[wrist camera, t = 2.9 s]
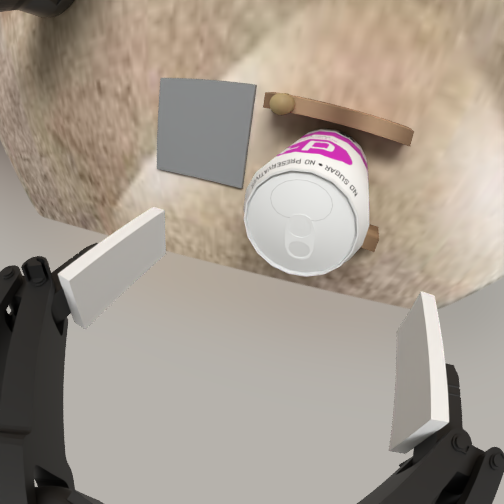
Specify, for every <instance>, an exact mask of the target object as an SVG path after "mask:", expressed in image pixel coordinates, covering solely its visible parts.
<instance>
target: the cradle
mask: <svg viewBox="0 0 504 504" xmlns="http://www.w3.org/2000/svg"><path fill="white" fill-rule="evenodd" d="M263 107H264V108H270V109H271V110H272V111H273V112H274V113H275V114H278V115H285V114H288V113H295V114H300V115H304V116H309V117H313V118H317V119H321V120H325V121H329V122H333V123H337V124H341V125H345V126H348V127H352V128H355V129H359V130H362V131H365V132H369V133H372V134H375V135H378V136H381V137H384V138H387V139H390V140H393V141H396V142H399V143H402V144H405V145H407V146H410V144H411V141H412V137H413V133H414V131H413V130H412V129H410V128H409V127H406V126H403V125H400V124H398V123H395V122H392V121H389V120H386V119H383V118H379V117H376V116H373V115H370V114H366V113H363V112H360V111H356V110H352V109H349V108H345V107H341V106H337V105H333V104H329V103H325V102H321V101H316V100H312V99H307V98H302V97H298V96H292V95H289V94H286V93H276V92H265V98H264V105H263ZM378 241H379V233H378V227H376V226H373V225H370V224H369V228H368V231H367V234H366V236H365V239H364V242H363V245H362V246H361V247H360V248H364V249H367V250H370V251H373V252H374V251H375V248H376V246H377V243H378Z"/></svg>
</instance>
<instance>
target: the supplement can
mask: <svg viewBox="0 0 504 504" xmlns="http://www.w3.org/2000/svg"><path fill="white" fill-rule="evenodd" d="M244 214H245V215H244V223H245V227H246V231H247V236H248V238H249V240H250V242H251V243H252V245H253V247H254V248H255V250H256V252H257V253H258V254H259V255H260V256H261V257H262V258H264V259H265V260H266V261H267V262H268V263H269V264H270V265H271V266H274V267H276V268H278V269H280V270H282V271H284V272H286V273H288V274H294V275H300V276H305V277H307V276H315V275H322V274H326V273H328V272H330V271H332V270H334V269H336V268H338V267H340V266H341V265H342V264H343V263H344V262H346V261H348V260H349V259H350V258H351V257H352V256H353V255H354V254H355V253H356V252H357V251H358V249H359V248H360V247H361V246H362V245H363V242H364V239H365V236H366V234H367V231H368V228H369V183H368V166H367V158H366V156H365V154H364V152H363V150H362V148H361V146H360V145H359V144H358V143H357V142H356V141H355V140H354V139H353V138H352V137H351V136H350V135H348V134H345V133H343V132H341V131H339V130H337V129H326V128H321V129H318V130H314V131H311V132H308V133H307V134H305V135H304V136H303V137H301V138H300V139H299V140H297V141H296V142H295V143H293V144H292V145H291V146H289V147H288V148H287V149H285V150H284V151H283V152H281V153H280V154H279V155H277V156H276V157H275V158H273V159H272V160H271V161H269V162H268V163H267V164H266V165H264V166H263V167H262V168H261V169H259V170H258V171H257V172H256V173H255V175H254V177H253V178H252V180H251V182H250V184H249V185H248V187H247V189H246V194H245V202H244Z"/></svg>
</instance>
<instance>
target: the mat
mask: <svg viewBox="0 0 504 504" xmlns="http://www.w3.org/2000/svg"><path fill="white" fill-rule="evenodd" d="M256 86H257V85H253V84H245V83H237V82H227V81H216V80H203V79H184V78H161V81H160V95H159V111H158V134H157V169H161V170H165V171H170V172H174V173H179V174H183V175H188V176H192V177H197V178H201V179H205V180H209V181H213V182H218V183H222V184H226V185H230V186H234V187H238V188H243V182H244V174H245V166H246V159H247V151H248V144H249V136H250V129H251V122H252V114H253V107H254V100H255V93H256Z"/></svg>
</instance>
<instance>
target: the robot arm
mask: <svg viewBox="0 0 504 504" xmlns="http://www.w3.org/2000/svg"><path fill="white" fill-rule="evenodd" d="M73 1H74V0H0V12H3V11H11V10H20V11H23V12H26V13H30V14H33V15H36V16H39V17H54V16H57V15H59V14H61V13H62V12H63V11H65V10H66V9H67V8H68V7H69V6H70V5H71V3H72V2H73ZM165 254H166V245H165V210H163V209H159V208H156V207H152V208H150V209H149V210H147V211H146V212H144V213H143V214H141V215H140V216H138V217H136V218H135V219H133V220H132V221H130V222H129V223H127V224H126V225H124V226H123V227H122V228H120V229H119V230H117V231H116V232H114V233H113V234H111V235H110V236H108V237H107V238H106V239H104V240H103V241H101V242H100V243H99V244H98V243H95V244H93V245H90V246H88V247H86V248H84V249H83V250H82V251H80V252H79V254H76V255H75V256H74V257H73V258H71V259H69V260H68V261H67V262H65V263H64V264H63V265H62V266H60V267H59V268H57V269H56V270H55V271H54V272H52V273H51V271H50V268H49V264H48V261H47V259H46V258H44V257H42V256H41V257H40V256H37V257H33V258H30V259H28V260H27V261H26V262H25V263H24V264H23V265H22V267H21V268H22V270H23V273H24V276H22V274H21V271H20V269H19V267H18V266H8V267H6V268H4V269H3V270H2V271H1V272H0V504H103V503H102V502H100V501H99V500H96V499H93V498H92V497H89V496H87V495H84V494H82V493H80V492H78V491H76V490H75V487H74V480H73V475H72V472H71V469H70V467H69V465H68V463H67V460H66V456H65V445H64V424H63V382H64V381H63V380H64V361H65V347H66V337H67V328H68V319H67V316H68V315H69V314H70V313H71V314H72V316H73V319H74V322H75V323H77V324H78V325H80V326H81V327H83V328H84V329H87V328H88V326H90V325H91V324H92V323H93V322H94V321H95V320H96V319H97V318H98V317H99V316H100V315H101V314H102V313H103V312H104V311H105V310H106V309H107V308H108V307H109V306H110V305H111V304H112V303H113V302H114V301H115V300H116V299H117V298H118V297H120V296H121V295H122V294H123V293H124V292H125V291H126V290H127V289H128V288H129V287H130V286H131V285H132V284H133V283H134V282H136V281H137V280H138V279H139V278H140V277H141V276H142V275H143V274H144V273H145V272H146V271H147V270H149V269H150V268H151V267H152V266H153V265H154V264H155V263H156V262H157V261H158V260H160V259H161V258H162V257H163V256H164V255H165ZM8 305H9V307H10V309H11V312H10V314H8V313H7V311H6V309H7V307H8ZM413 448H414V454H413V457H411V458H409V459H408V460H406V461H405V462H403V463H401V464H400V465H399V466H400V468H399V469H398V470H397V471H396V472H395V473H394V474H393V475H391V476H390V477H389V478H388V479H387V480H386V481H385V482H383V483H382V484H381V485H380V486H379V487H377V488H376V489H375V490H374V491H373V492H371V493H370V494H369V495H368V496H366V497H365V498H364V499H363V500H361V501H360V502H359V503H357V504H492V502H493V500H494V497H495V495H496V492H497V490H498V487H499V484H500V481H501V478H502V475H503V472H504V453H503V452H502V450H501V449H500V448H497V447H492V448H490V449H489V450H487V451H486V452H484V451H482V450H480V449H478V448H476V447H474V446H473V445H472V442H471V438H470V436H469V434H468V433H467V432H466V431H465V430H463V428H462V410H461V398H460V389H459V377H458V374H457V372H456V370H455V368H454V365H450V364H446V363H445V357H444V349H443V342H442V335H441V329H440V323H439V318H438V312H437V306H436V301H435V297H434V295H431V294H428V293H425V292H422V291H421V292H420V294H419V296H418V297H417V299H416V301H415V302H414V304H413V306H412V308H411V309H410V311H409V313H408V314H407V316H406V318H405V319H404V321H403V322H402V324H401V326H400V327H399V329H398V331H397V357H396V384H395V399H394V411H393V421H392V430H391V440H390V446H389V451H392V452H399V453H407V452H409V451H410V450H411V449H413ZM34 479H35V481H36V483H37V485H38V487H35V486H34Z"/></svg>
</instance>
